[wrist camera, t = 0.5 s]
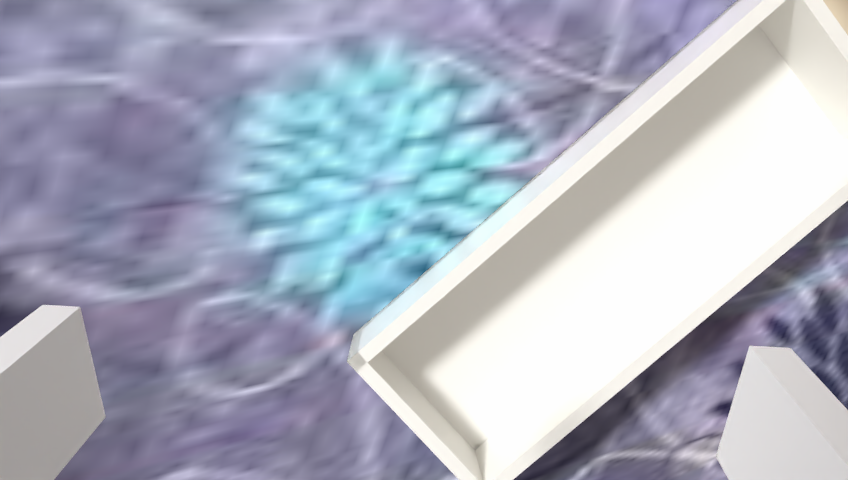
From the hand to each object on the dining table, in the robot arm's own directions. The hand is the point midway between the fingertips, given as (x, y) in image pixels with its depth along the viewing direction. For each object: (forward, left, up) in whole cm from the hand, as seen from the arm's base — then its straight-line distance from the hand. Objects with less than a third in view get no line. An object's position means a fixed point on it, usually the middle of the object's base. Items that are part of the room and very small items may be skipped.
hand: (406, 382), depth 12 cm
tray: (0, +13, -25) cm, 28 cm away
